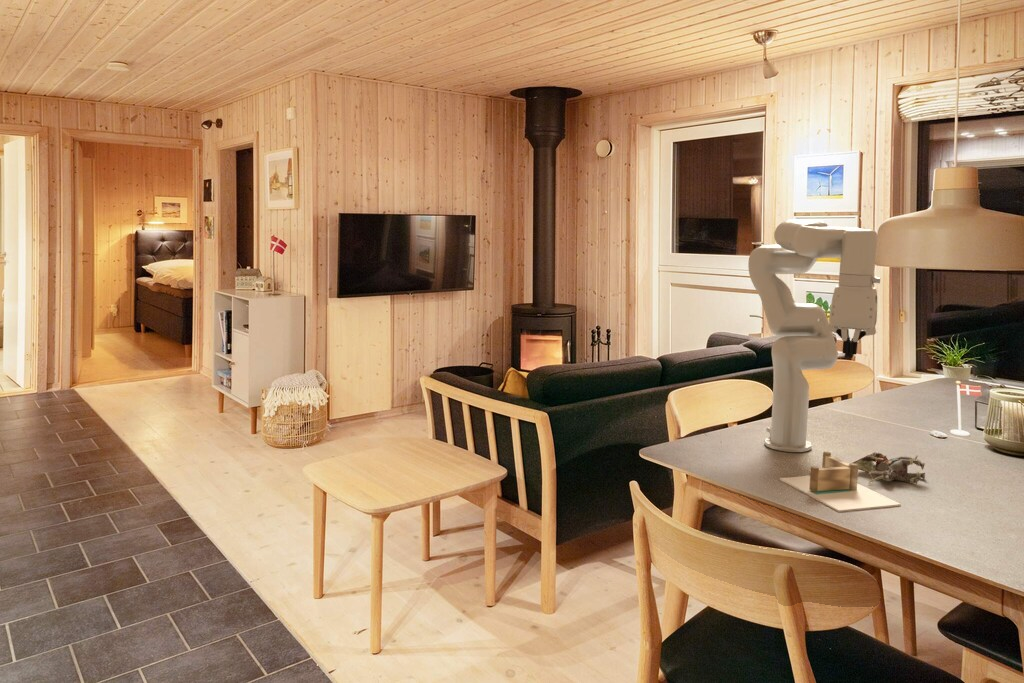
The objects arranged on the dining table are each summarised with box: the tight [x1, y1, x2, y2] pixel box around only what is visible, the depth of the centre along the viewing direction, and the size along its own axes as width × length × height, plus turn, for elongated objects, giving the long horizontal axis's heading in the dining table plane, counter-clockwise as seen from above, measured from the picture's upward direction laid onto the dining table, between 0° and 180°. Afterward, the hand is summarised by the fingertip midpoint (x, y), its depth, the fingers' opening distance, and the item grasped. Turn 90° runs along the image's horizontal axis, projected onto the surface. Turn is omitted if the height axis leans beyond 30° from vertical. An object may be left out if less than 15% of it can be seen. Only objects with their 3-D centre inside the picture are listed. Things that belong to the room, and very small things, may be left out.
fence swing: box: [809, 466, 851, 491], centre depth 177 cm, size 10×2×5 cm, turn 100°
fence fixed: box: [821, 451, 859, 491], centre depth 183 cm, size 12×2×6 cm, turn 14°
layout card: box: [779, 475, 901, 513], centre depth 178 cm, size 22×16×1 cm
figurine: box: [852, 451, 926, 486], centre depth 189 cm, size 20×6×17 cm
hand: (849, 356), depth 183 cm, fingers closed
